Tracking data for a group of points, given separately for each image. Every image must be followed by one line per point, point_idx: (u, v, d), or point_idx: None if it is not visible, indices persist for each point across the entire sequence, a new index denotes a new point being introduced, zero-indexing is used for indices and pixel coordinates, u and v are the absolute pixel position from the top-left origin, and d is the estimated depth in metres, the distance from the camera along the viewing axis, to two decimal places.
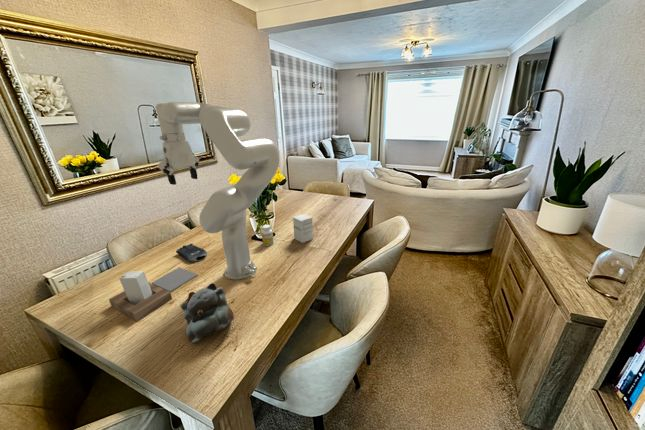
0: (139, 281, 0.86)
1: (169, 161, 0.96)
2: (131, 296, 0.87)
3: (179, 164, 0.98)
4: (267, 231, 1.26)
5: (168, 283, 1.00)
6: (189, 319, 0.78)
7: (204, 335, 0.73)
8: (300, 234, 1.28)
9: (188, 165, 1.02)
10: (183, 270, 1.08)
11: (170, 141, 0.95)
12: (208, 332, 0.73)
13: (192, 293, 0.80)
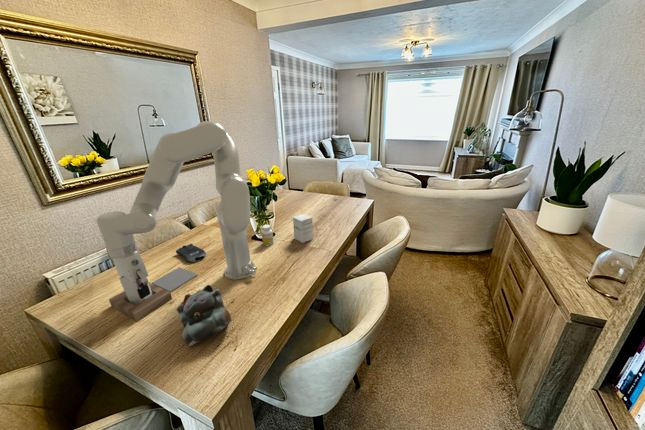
0: (139, 281, 0.86)
1: (143, 271, 0.85)
2: (131, 296, 0.87)
3: None
4: (267, 231, 1.26)
5: (168, 283, 1.00)
6: (185, 322, 0.76)
7: (201, 338, 0.72)
8: (300, 234, 1.28)
9: None
10: (183, 270, 1.08)
11: (135, 250, 0.83)
12: (205, 334, 0.72)
13: (188, 296, 0.79)
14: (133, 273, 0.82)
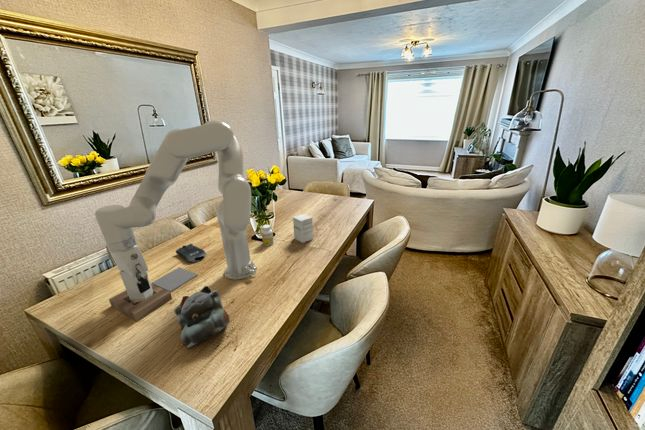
0: (139, 275, 0.85)
1: (143, 265, 0.84)
2: (131, 290, 0.87)
3: None
4: (267, 231, 1.26)
5: (168, 283, 1.00)
6: (183, 324, 0.76)
7: (200, 339, 0.72)
8: (300, 234, 1.28)
9: None
10: (183, 270, 1.08)
11: (135, 244, 0.83)
12: (204, 336, 0.72)
13: (186, 297, 0.79)
14: (132, 267, 0.81)
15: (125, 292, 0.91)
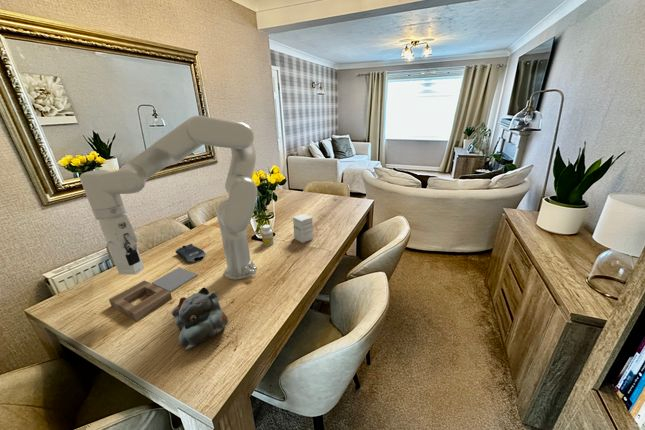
0: (128, 247, 0.81)
1: (132, 235, 0.80)
2: (119, 263, 0.82)
3: None
4: (267, 231, 1.26)
5: (168, 283, 1.00)
6: (181, 326, 0.75)
7: (198, 341, 0.71)
8: (300, 234, 1.28)
9: None
10: (183, 270, 1.08)
11: (123, 213, 0.78)
12: (202, 337, 0.71)
13: (183, 299, 0.78)
14: (121, 236, 0.77)
15: (125, 292, 0.91)
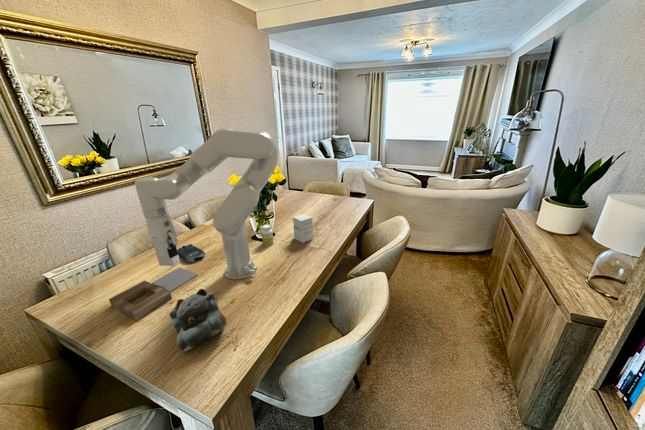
0: (169, 242, 0.95)
1: (173, 232, 0.94)
2: (161, 256, 0.97)
3: None
4: (267, 231, 1.26)
5: (168, 283, 1.00)
6: (179, 327, 0.75)
7: (197, 343, 0.71)
8: (300, 234, 1.28)
9: None
10: (183, 270, 1.08)
11: (167, 213, 0.93)
12: (201, 339, 0.71)
13: (181, 300, 0.77)
14: (165, 233, 0.91)
15: (125, 292, 0.91)
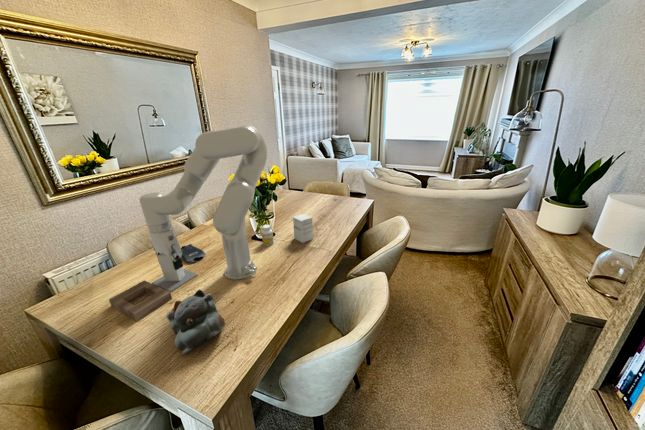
0: None
1: (177, 246, 0.96)
2: (166, 272, 0.99)
3: None
4: (267, 231, 1.26)
5: (168, 283, 1.00)
6: (177, 329, 0.74)
7: (195, 344, 0.70)
8: (300, 234, 1.28)
9: None
10: None
11: (170, 227, 0.95)
12: (199, 340, 0.70)
13: (178, 302, 0.77)
14: (169, 247, 0.94)
15: (125, 292, 0.91)
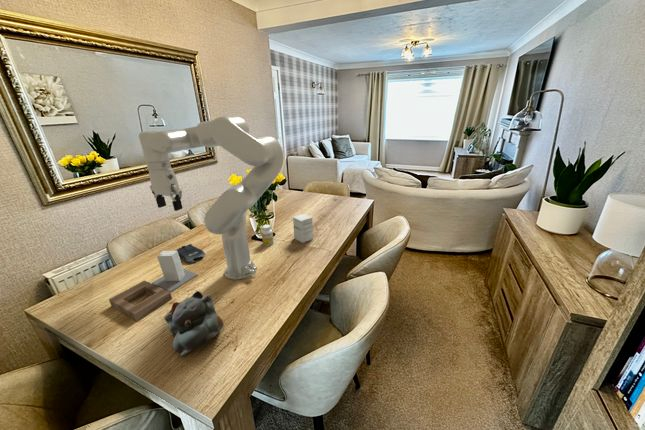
0: (174, 259, 0.97)
1: (176, 186, 0.97)
2: (166, 272, 0.99)
3: None
4: (267, 231, 1.26)
5: (168, 283, 1.00)
6: (175, 331, 0.73)
7: (194, 346, 0.70)
8: (300, 234, 1.28)
9: None
10: None
11: (170, 167, 0.96)
12: (198, 342, 0.70)
13: (176, 304, 0.76)
14: (169, 186, 0.95)
15: (125, 292, 0.91)
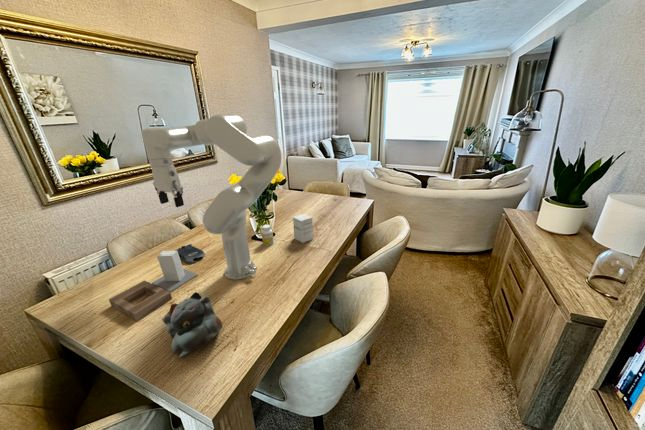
0: (174, 258, 0.97)
1: None
2: (166, 272, 0.99)
3: None
4: (267, 231, 1.26)
5: (168, 283, 1.00)
6: (173, 333, 0.73)
7: (193, 347, 0.69)
8: (300, 234, 1.28)
9: None
10: None
11: (172, 164, 0.97)
12: (197, 343, 0.69)
13: (174, 305, 0.76)
14: (170, 182, 0.96)
15: (125, 292, 0.91)
